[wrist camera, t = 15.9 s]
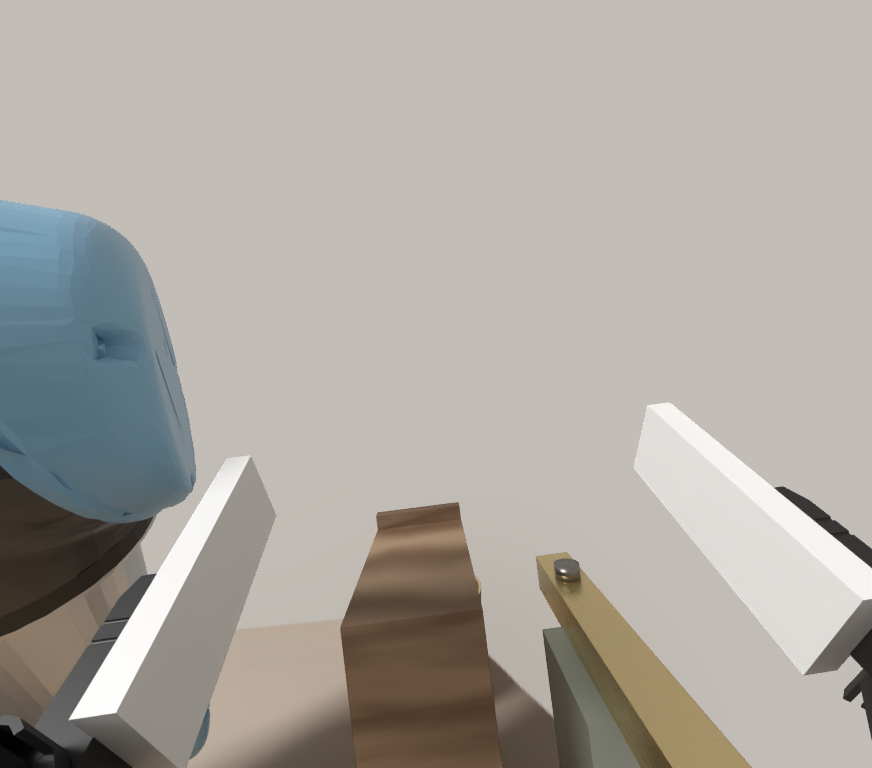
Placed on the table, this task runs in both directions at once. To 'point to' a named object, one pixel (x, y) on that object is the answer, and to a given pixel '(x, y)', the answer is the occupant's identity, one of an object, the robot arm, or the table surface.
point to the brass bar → (632, 676)
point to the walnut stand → (419, 649)
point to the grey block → (581, 712)
